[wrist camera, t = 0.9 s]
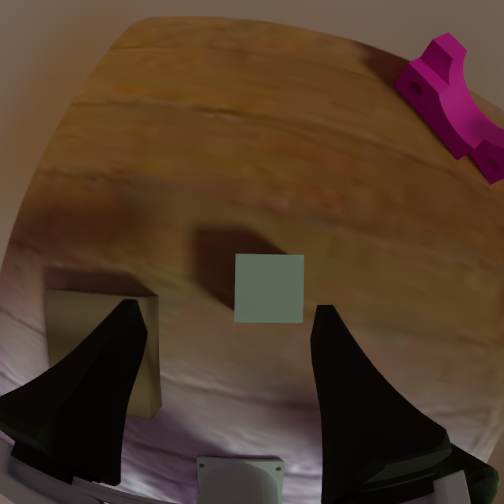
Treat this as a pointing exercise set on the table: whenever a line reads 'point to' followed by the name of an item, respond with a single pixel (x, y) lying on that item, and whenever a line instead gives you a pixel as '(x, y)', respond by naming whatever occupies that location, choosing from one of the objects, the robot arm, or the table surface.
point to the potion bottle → (470, 475)
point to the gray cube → (269, 288)
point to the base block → (87, 319)
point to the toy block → (452, 106)
